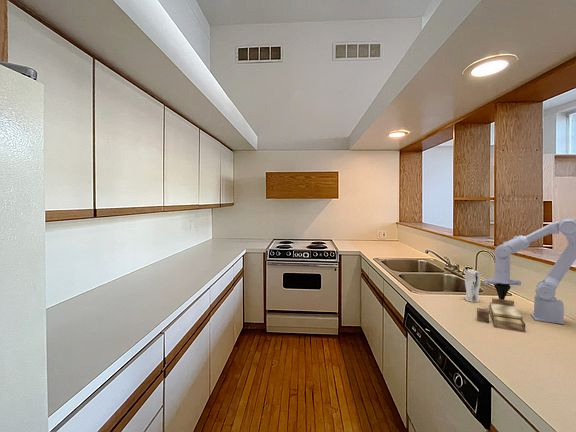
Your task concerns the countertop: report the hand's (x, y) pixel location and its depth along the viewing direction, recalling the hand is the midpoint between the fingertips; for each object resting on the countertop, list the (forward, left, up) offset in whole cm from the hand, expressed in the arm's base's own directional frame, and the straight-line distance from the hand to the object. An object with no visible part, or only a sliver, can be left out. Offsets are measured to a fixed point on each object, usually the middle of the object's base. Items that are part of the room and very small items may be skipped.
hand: (501, 299), depth 141 cm
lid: (0, +11, -2) cm, 11 cm away
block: (+9, +18, -5) cm, 20 cm away
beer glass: (+11, -11, -5) cm, 16 cm away
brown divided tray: (0, +13, -5) cm, 14 cm away
